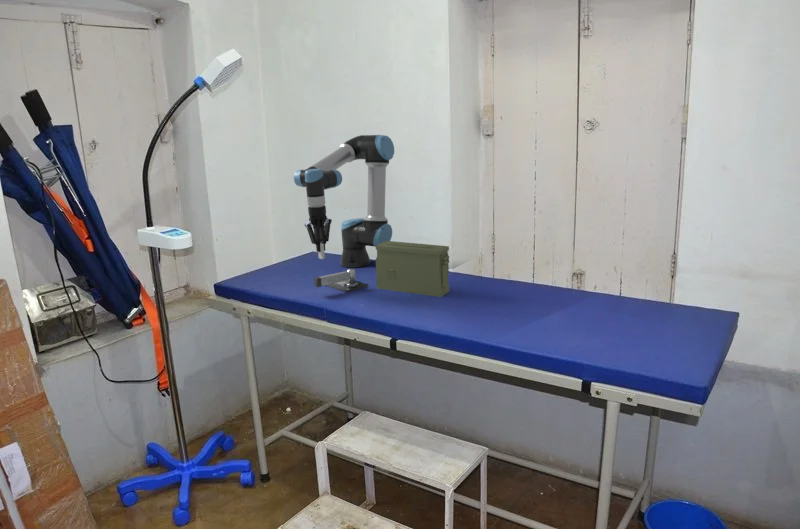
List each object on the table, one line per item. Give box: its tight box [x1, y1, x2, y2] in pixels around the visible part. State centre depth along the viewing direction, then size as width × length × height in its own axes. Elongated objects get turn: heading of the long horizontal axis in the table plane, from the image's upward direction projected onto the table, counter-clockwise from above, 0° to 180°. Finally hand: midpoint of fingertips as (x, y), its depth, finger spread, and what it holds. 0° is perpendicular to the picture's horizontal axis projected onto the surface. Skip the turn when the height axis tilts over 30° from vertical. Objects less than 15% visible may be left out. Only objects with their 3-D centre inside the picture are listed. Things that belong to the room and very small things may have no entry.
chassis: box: [324, 280, 368, 294], centre depth 274 cm, size 12×22×2 cm, turn 41°
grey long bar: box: [313, 268, 357, 288], centre depth 263 cm, size 19×3×6 cm, turn 123°
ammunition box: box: [375, 240, 451, 298], centre depth 260 cm, size 10×33×20 cm, turn 60°
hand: (321, 258), depth 264 cm, fingers closed
